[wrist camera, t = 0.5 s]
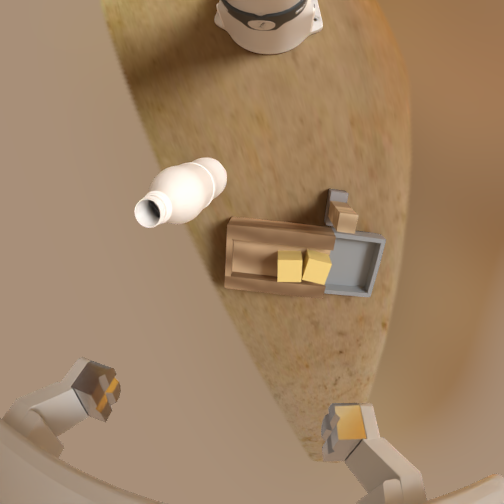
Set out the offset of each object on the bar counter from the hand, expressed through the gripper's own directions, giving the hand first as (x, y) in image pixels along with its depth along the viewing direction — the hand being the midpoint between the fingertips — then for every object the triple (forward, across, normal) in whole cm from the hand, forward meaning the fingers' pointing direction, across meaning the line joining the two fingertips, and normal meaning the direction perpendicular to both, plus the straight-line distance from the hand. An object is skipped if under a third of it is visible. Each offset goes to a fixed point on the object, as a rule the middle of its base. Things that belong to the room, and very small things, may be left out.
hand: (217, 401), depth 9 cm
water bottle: (+43, +11, -1) cm, 44 cm away
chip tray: (+43, -17, +12) cm, 47 cm away
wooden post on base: (+43, -12, +2) cm, 44 cm away
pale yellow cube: (+38, -10, +12) cm, 40 cm away
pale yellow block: (+38, -5, +12) cm, 40 cm away
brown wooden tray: (+43, -3, +12) cm, 44 cm away
